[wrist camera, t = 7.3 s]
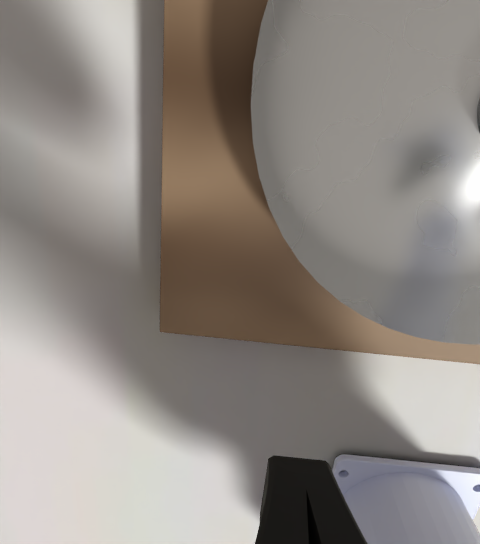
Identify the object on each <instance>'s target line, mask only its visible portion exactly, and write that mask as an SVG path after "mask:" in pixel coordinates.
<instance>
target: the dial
mask: <svg viewBox="0 0 480 544" xmlns="http://www.w3.org/2000/svg"><path fill="white" fill-rule="evenodd" d="M251 119H252V137H253V146H254V152H255V157H256V163H257V168H258V173H259V178H260V181H261V184H262V187H263V190H264V193H265V197H266V200H267V203H268V206H269V209H270V211H271V213H272V215H273V217H274V219H275V221H276V223H277V225H278V227H279V230H280V232H281V234H282V236H283V237H284V239H285V241H286V242H287V244H288V245H289V247H290V248H291V250H292V251H293V253H294V254H295V256H296V257H297V259H298V260H299V262H300V263H301V264H302V265H303V266H304V267H305V268H306V270H307V271H308V272H309V273H310V274H311V275H312V276H313V277H314V279H315V280H316V281H317V282H318V283H319V284H320V285H321V286H323V287H324V288H325V289H326V290H327V291H328V292H329V293H331V294H332V295H333V296H334V297H335V298H336V299H338V300H339V301H340V302H342V303H343V304H345V305H346V306H348V307H349V308H351V309H352V310H354V311H356V312H357V313H359V314H360V315H362V316H363V317H365V318H368V319H370V320H372V321H374V322H376V323H378V324H380V325H382V326H385V327H387V328H389V329H392V330H395V331H398V332H401V333H404V334H408V335H411V336H414V337H418V338H423V339H428V340H433V341H439V342H445V343H458V344H471V345H476V344H480V0H268V2H267V6H266V9H265V12H264V15H263V19H262V22H261V26H260V32H259V37H258V43H257V48H256V54H255V59H254V64H253V78H252V93H251Z"/></svg>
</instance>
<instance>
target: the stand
mask: <svg viewBox="0 0 480 544" xmlns="http://www.w3.org/2000/svg"><path fill="white" fill-rule="evenodd" d="M267 2H268V0H164V59H163V132H162V205H161V277H160V332H165V333H175V334H185V335H195V336H205V337H215V338H225V339H234V340H244V341H254V342H264V343H274V344H284V345H294V346H304V347H314V348H324V349H334V350H344V351H354V352H364V353H373V354H383V355H393V356H403V357H413V358H423V359H433V360H443V361H453V362H463V363H473V364H480V344H476V345H471V344H458V343H445V342H439V341H433V340H428V339H423V338H418V337H414V336H411V335H408V334H404V333H401V332H398V331H395V330H392V329H389V328H387V327H385V326H382V325H380V324H378V323H376V322H374V321H372V320H370V319H368V318H365V317H363V316H362V315H360V314H359V313H357V312H356V311H354V310H352V309H351V308H349V307H348V306H346V305H345V304H343V303H342V302H340V301H339V300H338V299H336V298H335V297H334V296H333V295H332V294H331V293H329V292H328V291H327V290H326V289H325V288H324V287H323V286H321V285H320V284H319V283H318V282H317V281H316V280H315V279H314V277H313V276H312V275H311V274H310V273H309V272H308V271H307V270H306V268H305V267H304V266H303V265H302V264H301V263H300V262H299V260H298V259H297V257H296V256H295V254H294V253H293V251H292V250H291V248H290V247H289V245H288V244H287V242H286V241H285V239H284V237H283V236H282V234H281V232H280V230H279V227H278V225H277V223H276V221H275V219H274V217H273V215H272V213H271V211H270V209H269V206H268V203H267V200H266V197H265V193H264V190H263V187H262V184H261V181H260V178H259V173H258V168H257V163H256V157H255V152H254V146H253V137H252V119H251V93H252V78H253V64H254V59H255V54H256V48H257V43H258V37H259V32H260V26H261V22H262V19H263V15H264V12H265V9H266V6H267Z"/></svg>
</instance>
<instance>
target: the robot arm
mask: <svg viewBox="0 0 480 544" xmlns="http://www.w3.org/2000/svg"><path fill="white" fill-rule="evenodd" d="M342 470H345V471H342ZM479 506H480V468H473V467H463V466H453V465H444V464H434V463H424V462H415V461H405V460H395V459H386V458H376V457H366V456H357V455H347V454H342V455H339V456H338V457H336V459H335V460H334V465H333V469H332V470H331V468H330V465H329V464H328V463H327V462H326V461H322V460H312V459H302V458H293V457H283V456H272V457H271V458H269V459H268V465H267V472H266V479H265V485H264V492H263V498H262V505H261V511H260V526H259V530H258V534H257V538H256V542H255V544H480V534H479V532H478V530H477V528H476V526H475V524H474V522H473V520H474V517H475V515H476V513H477V511H478V508H479Z"/></svg>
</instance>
